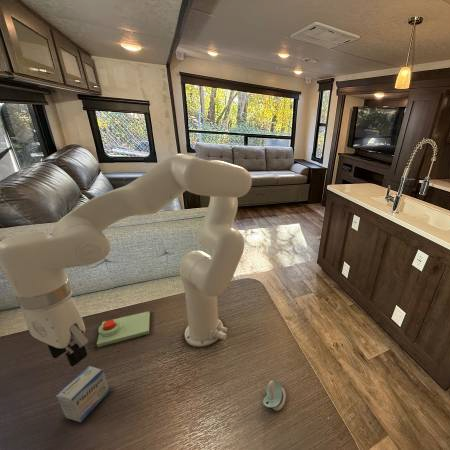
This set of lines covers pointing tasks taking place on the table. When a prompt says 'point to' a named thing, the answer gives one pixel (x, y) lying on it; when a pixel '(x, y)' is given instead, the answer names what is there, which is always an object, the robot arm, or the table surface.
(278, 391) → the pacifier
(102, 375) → the medicine box
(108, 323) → the tare button
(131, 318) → the green button pad
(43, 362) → the table surface
